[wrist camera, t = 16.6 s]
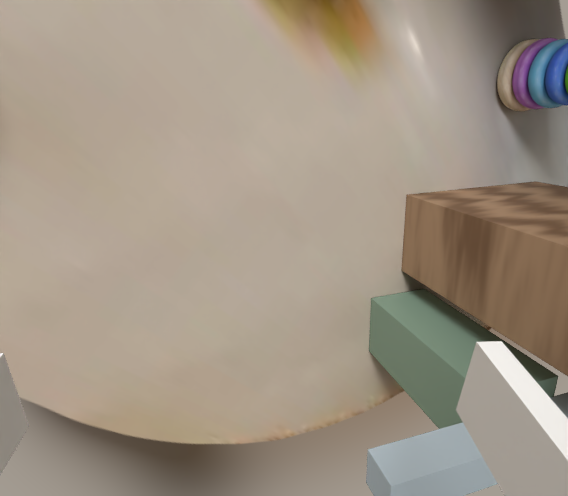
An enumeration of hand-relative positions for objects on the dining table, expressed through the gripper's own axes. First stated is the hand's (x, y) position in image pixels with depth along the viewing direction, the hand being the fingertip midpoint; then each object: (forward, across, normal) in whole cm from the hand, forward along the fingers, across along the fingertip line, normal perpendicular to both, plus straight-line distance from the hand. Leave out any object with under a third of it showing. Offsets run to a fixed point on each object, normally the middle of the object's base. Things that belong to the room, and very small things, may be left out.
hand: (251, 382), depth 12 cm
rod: (+16, +24, -21) cm, 35 cm away
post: (+35, +20, -24) cm, 47 cm away
